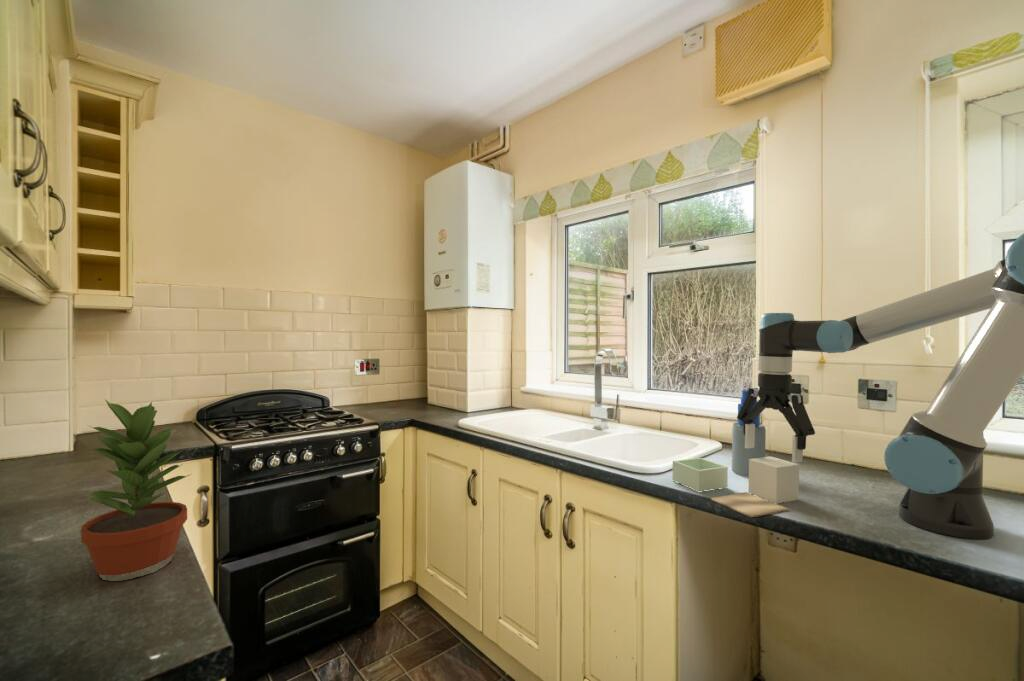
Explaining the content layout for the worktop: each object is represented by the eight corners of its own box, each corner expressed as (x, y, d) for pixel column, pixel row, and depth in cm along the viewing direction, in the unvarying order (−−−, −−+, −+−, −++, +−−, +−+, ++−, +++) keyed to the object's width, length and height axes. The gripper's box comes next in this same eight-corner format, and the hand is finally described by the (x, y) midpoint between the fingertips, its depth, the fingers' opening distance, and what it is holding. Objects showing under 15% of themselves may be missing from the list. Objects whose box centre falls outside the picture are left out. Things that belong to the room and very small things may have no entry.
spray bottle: (727, 467, 142) (728, 388, 141) (757, 468, 141) (758, 388, 140) (738, 476, 133) (739, 392, 132) (770, 478, 132) (771, 392, 132)
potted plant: (189, 571, 79) (188, 400, 78) (70, 599, 70) (68, 407, 70) (194, 538, 91) (193, 390, 91) (93, 559, 83) (91, 395, 82)
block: (798, 499, 115) (799, 464, 115) (776, 503, 112) (776, 467, 112) (770, 489, 122) (770, 456, 122) (748, 493, 119) (749, 459, 119)
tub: (727, 488, 123) (727, 467, 123) (698, 493, 119) (699, 470, 119) (699, 478, 132) (699, 457, 132) (672, 481, 129) (672, 460, 129)
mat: (788, 510, 108) (788, 508, 108) (751, 517, 103) (751, 515, 103) (745, 493, 119) (745, 492, 119) (710, 499, 114) (710, 498, 114)
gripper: (834, 377, 106) (831, 467, 107) (744, 368, 129) (742, 441, 130) (812, 378, 104) (809, 470, 104) (724, 368, 127) (722, 443, 127)
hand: (772, 454), depth 117 cm, fingers open, 13 cm apart
